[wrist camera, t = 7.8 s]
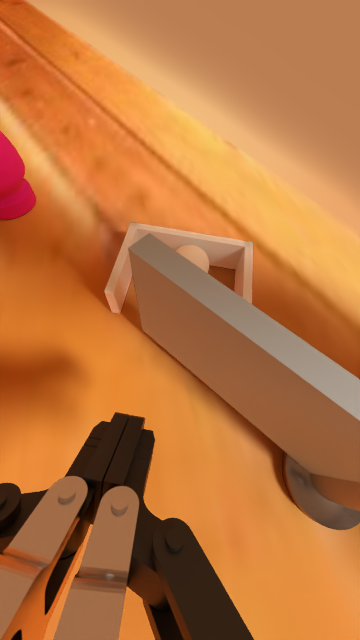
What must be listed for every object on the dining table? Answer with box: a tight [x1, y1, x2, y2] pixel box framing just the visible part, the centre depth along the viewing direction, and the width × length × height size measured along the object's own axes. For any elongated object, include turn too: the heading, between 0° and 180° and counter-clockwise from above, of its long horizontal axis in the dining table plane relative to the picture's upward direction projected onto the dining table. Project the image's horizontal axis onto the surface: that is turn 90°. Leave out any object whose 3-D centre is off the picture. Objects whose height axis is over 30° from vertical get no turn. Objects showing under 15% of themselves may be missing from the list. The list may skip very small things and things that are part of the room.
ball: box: [176, 245, 209, 273], centre depth 24 cm, size 4×4×4 cm
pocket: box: [104, 222, 253, 314], centre depth 24 cm, size 13×9×4 cm
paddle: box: [128, 233, 360, 511], centre depth 14 cm, size 20×3×11 cm, turn 49°
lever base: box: [282, 451, 360, 530], centre depth 17 cm, size 6×6×1 cm
